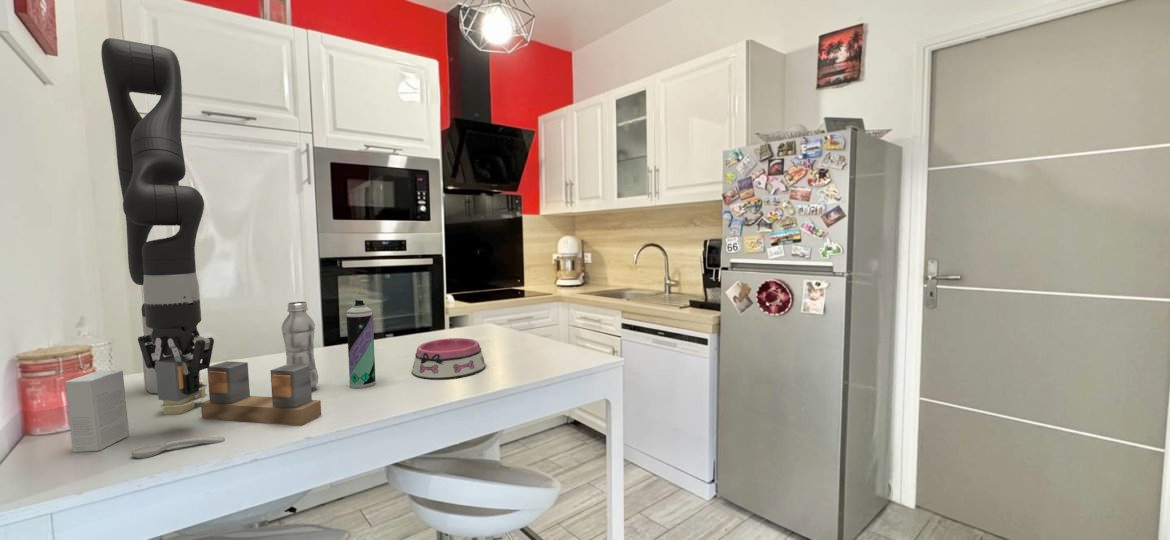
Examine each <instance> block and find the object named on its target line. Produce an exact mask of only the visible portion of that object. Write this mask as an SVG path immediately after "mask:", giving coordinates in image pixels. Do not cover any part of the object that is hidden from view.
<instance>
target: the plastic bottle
mask: <svg viewBox="0 0 1170 540" xmlns="http://www.w3.org/2000/svg"><path fill="white" fill-rule="evenodd" d="M307 311H309V310H308V303H307V301H292V302H288V303H287V311H286V312H288V315H287V316H286V318H285V319H284V321H283V322H282V323H281V324H282V325H281V332H282V338H283V342H284V347H285V348H284V349H285V357H286V364H285V365H287V364H290V365H310V376H311V390H313V389H315V388H316V386H317V385H318V383H319V374H318V369H317V366H316V359H315V354H314V353H315V350H314V342H315V341H314V340H315V331H316V330H315V329H316V324H315V322H314V320H313V318H312V317H311V316H310V315H309V314H308V313H307Z"/></svg>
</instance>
